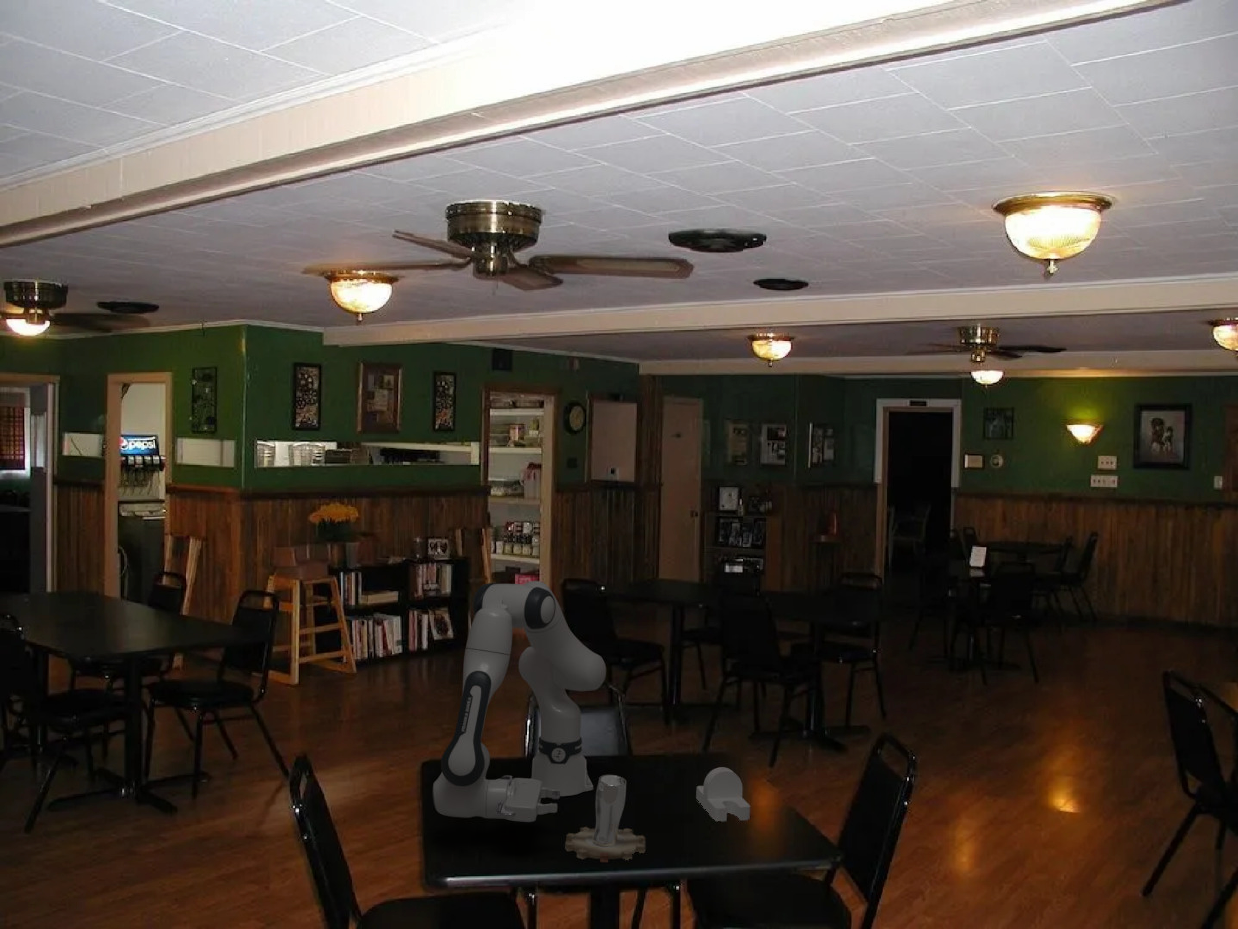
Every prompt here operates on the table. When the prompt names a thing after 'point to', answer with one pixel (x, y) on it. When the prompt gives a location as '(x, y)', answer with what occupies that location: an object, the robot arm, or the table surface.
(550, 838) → the table surface
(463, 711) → the robot arm
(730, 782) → the tape dispenser
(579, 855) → the sprocket plate
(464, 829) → the table surface
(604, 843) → the beer glass
